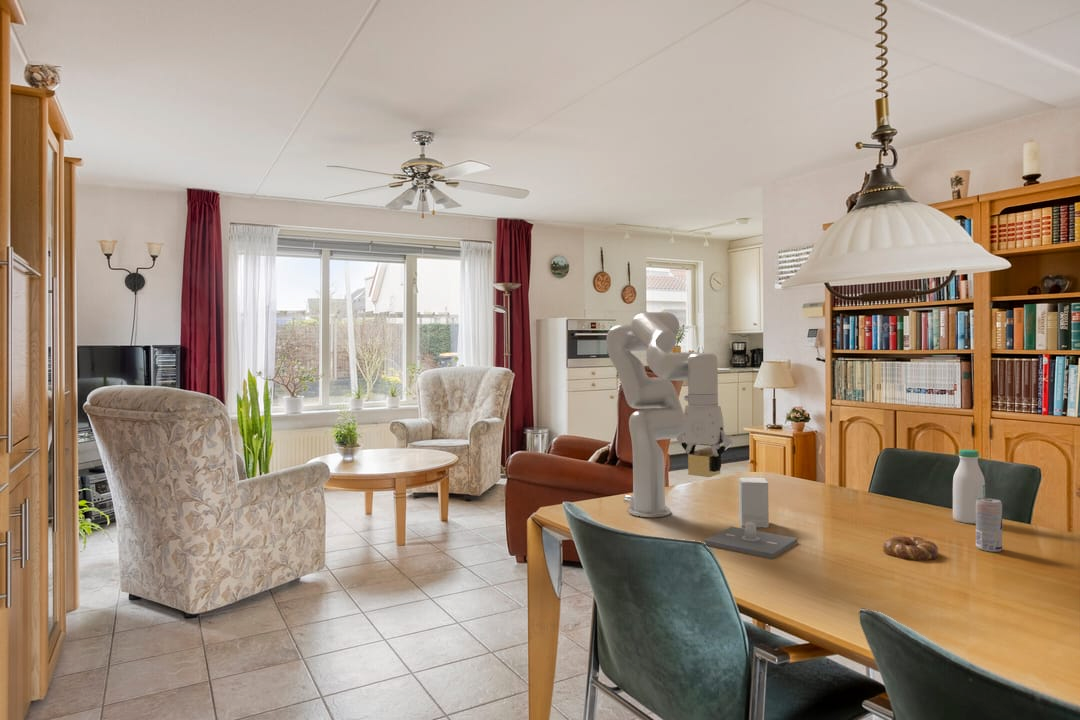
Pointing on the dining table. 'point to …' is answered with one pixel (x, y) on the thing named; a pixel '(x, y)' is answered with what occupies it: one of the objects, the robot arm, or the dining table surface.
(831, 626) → the dining table surface
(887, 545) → the pretzel
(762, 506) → the supplement box
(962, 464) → the milk bottle
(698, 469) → the tan boxy piece
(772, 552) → the post base
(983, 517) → the energy drink
